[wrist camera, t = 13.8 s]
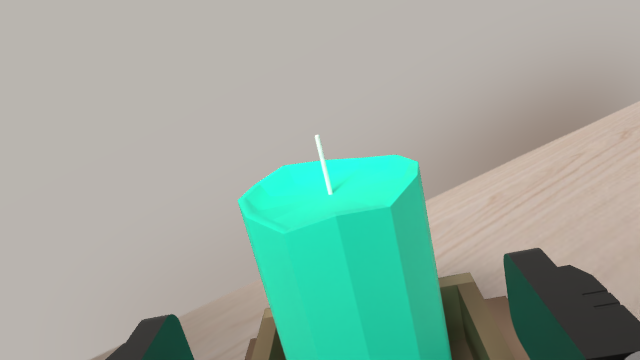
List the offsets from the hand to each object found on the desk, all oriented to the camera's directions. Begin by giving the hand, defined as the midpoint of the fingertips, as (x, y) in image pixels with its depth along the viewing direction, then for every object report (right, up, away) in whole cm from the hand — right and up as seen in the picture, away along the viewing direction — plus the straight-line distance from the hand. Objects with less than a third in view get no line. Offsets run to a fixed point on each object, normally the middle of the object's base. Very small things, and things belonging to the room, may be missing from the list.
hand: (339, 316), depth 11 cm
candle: (+2, -7, +7) cm, 10 cm away
